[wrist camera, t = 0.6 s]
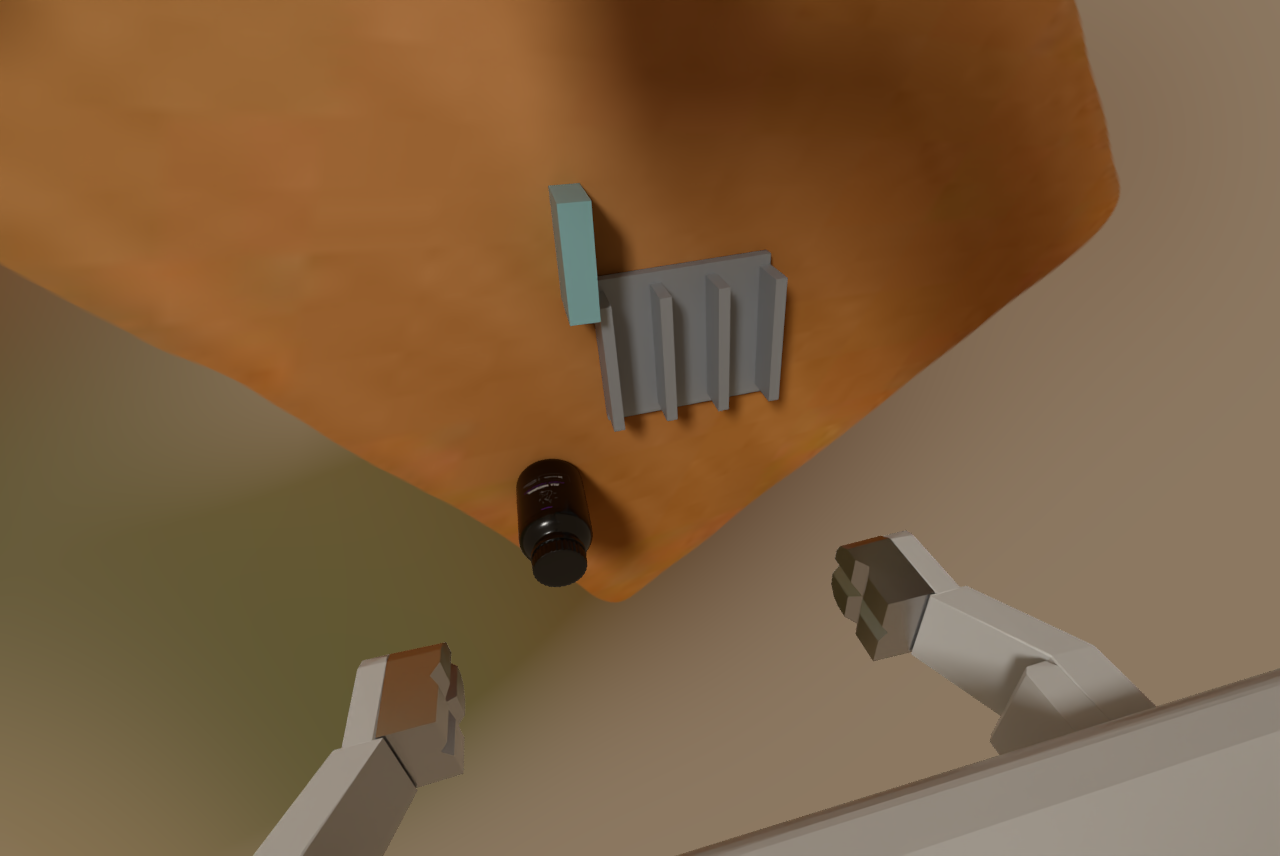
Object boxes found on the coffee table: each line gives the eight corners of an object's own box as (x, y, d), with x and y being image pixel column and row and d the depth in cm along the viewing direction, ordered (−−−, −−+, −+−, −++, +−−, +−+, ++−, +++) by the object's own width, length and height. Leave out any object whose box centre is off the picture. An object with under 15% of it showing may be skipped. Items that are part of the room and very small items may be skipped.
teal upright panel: (548, 185, 44) (556, 203, 39) (579, 183, 44) (591, 200, 39) (561, 297, 49) (570, 325, 44) (588, 294, 49) (600, 322, 44)
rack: (588, 277, 48) (597, 297, 45) (766, 249, 51) (788, 266, 47) (606, 414, 56) (615, 440, 53) (759, 385, 59) (777, 407, 55)
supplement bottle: (542, 445, 57) (555, 528, 47) (594, 474, 60) (616, 557, 51) (501, 491, 59) (505, 580, 49) (554, 516, 62) (567, 604, 53)
